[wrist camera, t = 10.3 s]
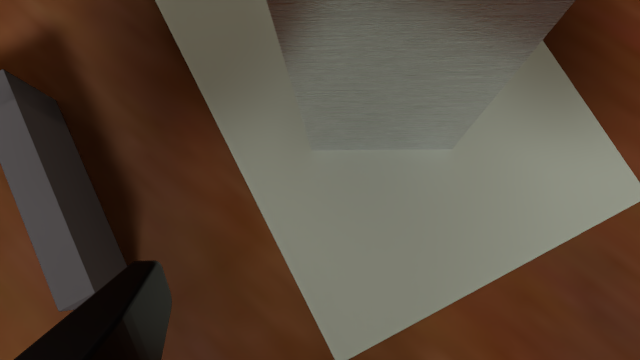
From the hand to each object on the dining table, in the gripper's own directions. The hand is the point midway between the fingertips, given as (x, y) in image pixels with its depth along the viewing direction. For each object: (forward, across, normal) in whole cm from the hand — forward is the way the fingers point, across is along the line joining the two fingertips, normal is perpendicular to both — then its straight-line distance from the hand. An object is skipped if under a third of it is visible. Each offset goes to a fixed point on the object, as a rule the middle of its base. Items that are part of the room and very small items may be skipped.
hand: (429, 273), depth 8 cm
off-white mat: (+12, 0, +2) cm, 12 cm away
